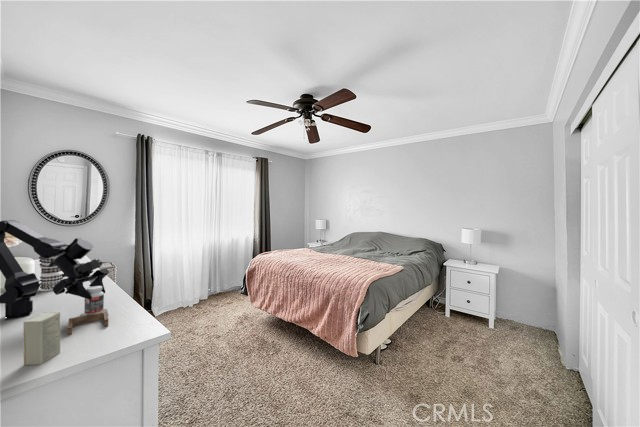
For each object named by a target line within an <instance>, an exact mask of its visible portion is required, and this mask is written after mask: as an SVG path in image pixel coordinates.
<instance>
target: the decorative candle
mask: <svg viewBox="0 0 640 427" xmlns="http://www.w3.org/2000/svg"><path fill="white" fill-rule="evenodd" d="M57 240H58V239H57ZM58 241H60V240H58ZM57 257H58V256H56V257H51V258H42V257H41V256H40V255H39V256H38V259H39V262H40V263H39V268H40V271H41V272H40V276H39V278H40V279H39V280H40V281H39V284H40V287H39V291H40V292H51V291H52V292H53V287H54V286H55V285H56V284H58V283H59V282H60V281H61V280H62V279H64V277H63V276H62V275H63V274H64V273H63V272H62V271H61V270H60V269H59V268H58V267H57V266H55V267H49V264H50V263H51V260H55V259H56V258H57Z"/></svg>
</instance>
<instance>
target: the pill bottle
mask: <svg viewBox="0 0 640 427" xmlns="http://www.w3.org/2000/svg"><path fill="white" fill-rule="evenodd" d="M86 290H87V291H88V292H89V294H90V295H91V296H92V298H91V299H86V298H84V309H83V310H84V313H85V314H87V315H90V314H95V313H100V312H102V311H103V310H104V300H105V298H104V297H105V296H104V294H105V293H103V292H102V291H101V290H102V286H93V287H90V286H89V287H87V288H86ZM84 313H83V314H84Z"/></svg>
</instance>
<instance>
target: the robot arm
mask: <svg viewBox="0 0 640 427" xmlns="http://www.w3.org/2000/svg"><path fill="white" fill-rule="evenodd" d="M6 233H7V234H8V235H9V236H12V237H14V238H16V239H18V240H19V241H22V242H23V243H25V244H27V245H29V246H30V247H31V248H33V251H34V253H36V254H37V255H38V256H39V257H40V256H41V257H42V258H51V257H56V256H58V257H57V258H56V259H55V260H51V263H50V264H49V267H55V266H57V267H58V268H59V269H60V270H61V271H62V272H63V273H62V274H63V275H62V277H63V279H62V280H61V281H60V282H59V283H58V284H56V285H55V286H54V287H53V290H52V292H53V293H54V294H55V295H57V296H58V295H61V294H63V293H64V294H66V295H67V294H69V295H74V296H77V297H80V298H84V299H85V298H86V299H91V298H92V296H91V295H90V294H89V292H88V291H87V288H85V287H84V283H86V282H89V283H90V284H89V285H88V286H89V287H93V286H102V290H101V291H102V292H103V293H104V294H106V289H105V286H104V283H103V279H104V278H105V277H107V275H108V274H109V273H110V271H109V270H108V269H107V268H101V266H103V261H102V260H101V259H100V258H94V259H92V260H91V261H87V262H82V263H81V262H80V261H79V260H81V259H83V258H85V256H87V255H88V254H89V253H90V252H91V251H92V250H93V249H94V245H93V243H92V242H90V241H88V240H86V239H83V238H81V237H76V238H74V239H73V240H72V242H70V243H69V244H67V243H65V242H63V241H60V240H59V241H58V239H54V238H49V237H46V236H43V235H42V234H40V233H38V232H36V231H34V230H33V229H31V228H29V227H27V226H25V225H24V224H22V223H20V221H19V220H14V219H11V220H10V219H9V220H0V272H1V274H2V275H3V276H4V278H5V282H4V287H3V288H4V290H5V291H4V292H3V293H2V294H1V295H0V304H4V306H5V307H4V315H5V316H4V318H5V317H7V318H11V319H14V318H21V317H22V318H23V317H26V316H30V315H31V313H32V312H33V311H34V301H33V300H32V298H33V297H36V295H37V292H38V290H40V286H41V285H40V282H41V281H40V280H41V279H39V278H37V275H36V273H34V272H31V273H27V272H25V271H24V270H23V268H22V267H21V265H20V264H19V262H18V260H17V259H16V258H15V256H14V255H13V253H12V251H11V250H10V249H9V247H8V245H7V244H6V242H5V238H6ZM100 268H101V269H100ZM97 269H98V270H97ZM94 270H95V271H94Z"/></svg>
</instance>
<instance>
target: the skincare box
mask: <svg viewBox="0 0 640 427" xmlns="http://www.w3.org/2000/svg"><path fill="white" fill-rule="evenodd" d="M60 353H61V312H58V311H57V312H54V311H53V312H43V313H40V314H38V315H36V316H34V317H30V318H29V319H26V320H24V321H23V366H27V365H28V366H30V365H31V366H33V365H34V366H35V365H36V366H37V365H42V364H44V363H45V362H47V361H48V360H50V359H51V358H53V357H56V355H58V354H60Z"/></svg>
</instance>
